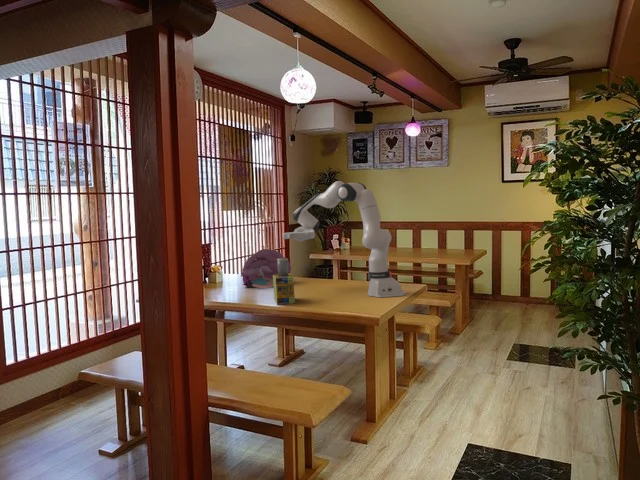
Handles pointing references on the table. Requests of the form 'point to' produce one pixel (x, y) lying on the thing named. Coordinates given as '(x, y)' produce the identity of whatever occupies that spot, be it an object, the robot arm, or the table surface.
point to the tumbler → (282, 267)
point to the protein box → (283, 289)
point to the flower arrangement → (261, 268)
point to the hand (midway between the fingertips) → (297, 236)
